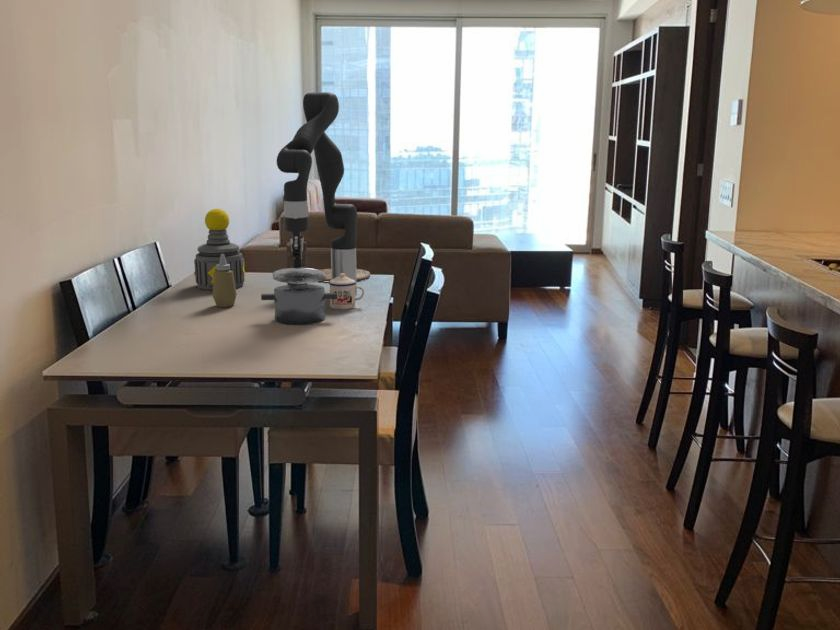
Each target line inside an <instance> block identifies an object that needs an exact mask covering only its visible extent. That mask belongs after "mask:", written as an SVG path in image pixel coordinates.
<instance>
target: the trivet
mask: <svg viewBox="0 0 840 630" xmlns="http://www.w3.org/2000/svg"><path fill="white" fill-rule="evenodd" d="M320 270H321V271H323V272H324V273H325V279H324V280H322V281H329V282H330V280H332V275H331V268H324V269H320ZM356 273H357V282H361V281H360V280H363V281H366V280H368V279H369V277H370V278H371V272H370V271H368V270H366V269H359V268H356ZM365 279H366V280H365Z"/></svg>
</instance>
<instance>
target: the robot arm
mask: <svg viewBox="0 0 840 630" xmlns="http://www.w3.org/2000/svg"><path fill="white" fill-rule="evenodd" d="M339 102H340V101H339V99H338V96H337V95H336V94H335V93H333V92H329V91H327V92H326V91H325V92H324V91H323V92H322V91H321V92H320V91H319V92H318V91H317V92H307V93H305V94H304V96H303V100H302V108H303V113H304V118H305V121H306V123H304V124H302V125H301V126H300V127H299V128H298V129H297V131H296V133H295V135H294V137H293V139H292V140H290V141H289V142H287V144H286V145H284V146H283V147H282V148H281V149H280V151H279V152H278V154H277V156H276V166H277V169H278V170H279V171H281V172H282V173H284V174H298V175H297V177H296V179H293V180H288V181H286V182H285V183H284V184H283V197H284V199H283V200H284V201H283V204H284V205H283V223H284V224H283V225H284V231H286V232H288V233H289V232H291V233H292V235H291V236H290V239H289V242H291V248H292V252H293V258H294V268H302V262H301V258H302V251H303V241H304V240H305V237H304V235H302V232H307V231H309V229H310V220H309V219H310V218H309V206H308V205H309V204H308V182H309V177H310V174H311V170H312V164H313V159H312V158H313V157H312V155H311V154H312V153H313V152H314V159H315V164H316V168H317V169H316V170H317V172H318V173H317V175H318V177H319V182H320V187H321V193H322V199H323V207H324V209H323V210H324V217H325V221H326V224H327V227H328V228H329V229H332V230H344V234H343V235H342V236H339V237H337V238H334V239H332V240H331V241H330V264H331V265H330V267H331V268H330V269H331V275H332V280H333V279H335V278H336V277H339V274H341V273H344V274H345V276H346V277H348V278H350V279H353V280H355V282H356V283H355V286H358V285H357V283H358V281H357V273H356V269H357V240H358V239H357V237H358V236H357V235H358V234H357V230H358V229H357V228H358V211H357V207H356V206H355V204H351V203H337V202H336V192H337V189H338V187H339V185H340V183H341V182H342V179H343V178H344V174H345V166H344V161H343V155H342V152H341V151H340V148H339V147H338V146H337V145H336V144H335V142H333V140H332V139H331V138H330V137H329V136H328V134H327V133H326V131H327V129H328V128H329V127H330V126H331V125H332V124H333V122H334V121H335V120H336V119H337V117H338V114H339V111H340V110H339V109H340V105H339ZM357 292H358V288H355V295H357Z"/></svg>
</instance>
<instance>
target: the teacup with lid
mask: <svg viewBox="0 0 840 630" xmlns="http://www.w3.org/2000/svg"><path fill="white" fill-rule="evenodd" d="M355 283H356V282H355V280H353V279H350V278H348V277H346V276H345V274H344V273H341V274H339V277H336V278H335V279H333V280H330V282H329V283H328V285H329V293H337V299H329V301H330V302H329V306H330V308H331V309H333V310H339V309H340V310H351V309H354V308H355V307H356V301H360V300H361V299H363V297H364V295H365V289H364V288H363V287H362V286H360V285H357V286H355ZM355 288H357V289H360V290H361V292H362V293H361V295H360V296H359V297H356V294H355Z"/></svg>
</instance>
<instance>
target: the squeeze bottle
mask: <svg viewBox="0 0 840 630" xmlns="http://www.w3.org/2000/svg"><path fill="white" fill-rule="evenodd" d="M216 270H217V271H215V272H214V278H213V290H212V298H213V300H214V303H215V306H217V307H220V308H229V307H232V306H234V305H235V302H236V298H237V288H236V287H235V281H234V274H233V271H231V270H230V264H227V262H226V259H225V255H224V254H221V256H220V262H219V264H217V265H216Z"/></svg>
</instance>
